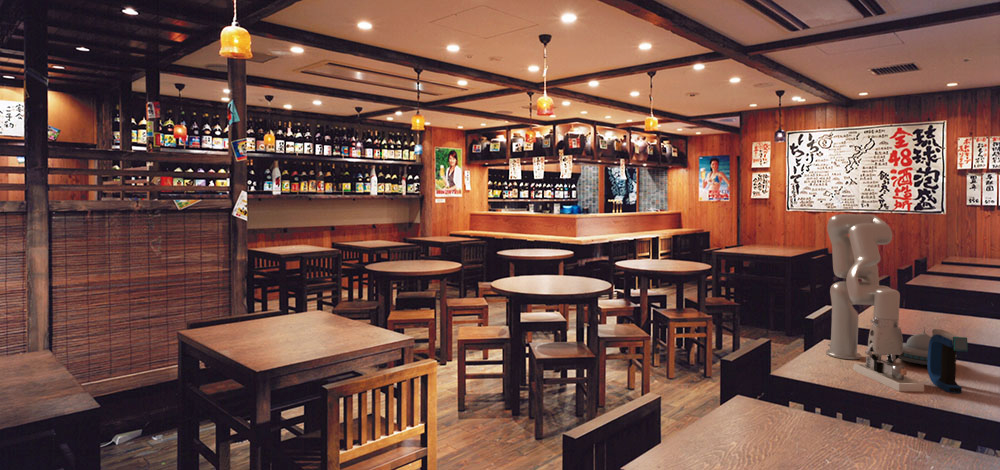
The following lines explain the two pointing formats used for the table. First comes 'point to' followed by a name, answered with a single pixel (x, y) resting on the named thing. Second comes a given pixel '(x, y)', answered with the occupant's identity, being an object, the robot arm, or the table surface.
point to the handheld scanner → (944, 359)
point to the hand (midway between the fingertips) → (883, 371)
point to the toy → (917, 349)
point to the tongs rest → (889, 379)
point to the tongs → (888, 368)
